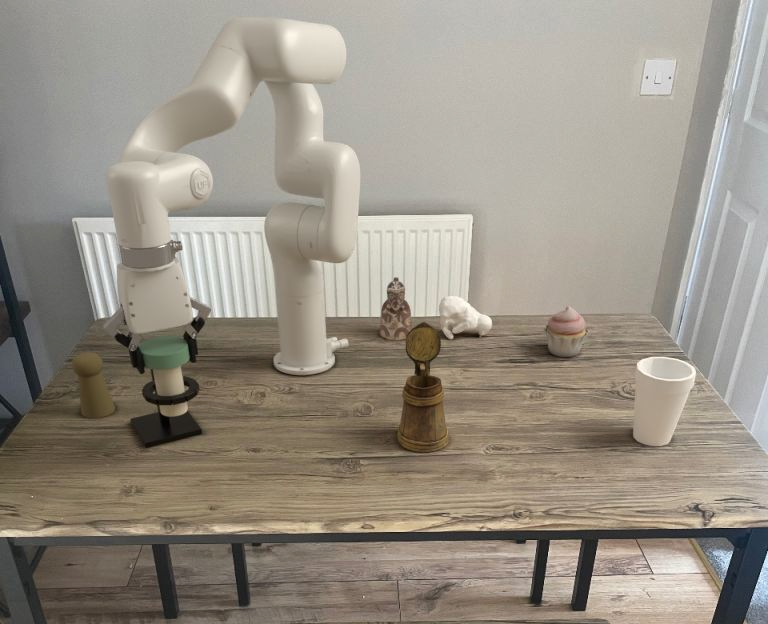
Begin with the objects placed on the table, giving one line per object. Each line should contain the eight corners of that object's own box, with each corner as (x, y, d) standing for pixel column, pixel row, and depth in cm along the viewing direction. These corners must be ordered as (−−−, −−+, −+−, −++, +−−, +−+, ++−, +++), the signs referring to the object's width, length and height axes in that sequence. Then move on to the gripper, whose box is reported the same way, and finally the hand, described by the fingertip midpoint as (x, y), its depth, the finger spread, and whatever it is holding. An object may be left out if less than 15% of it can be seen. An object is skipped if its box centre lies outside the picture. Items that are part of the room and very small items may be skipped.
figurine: (377, 339, 176) (376, 285, 169) (382, 326, 181) (382, 274, 174) (409, 341, 175) (410, 287, 168) (413, 328, 180) (414, 275, 173)
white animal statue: (440, 290, 175) (495, 296, 175) (435, 327, 180) (488, 333, 180) (440, 301, 170) (496, 307, 170) (435, 338, 175) (490, 344, 175)
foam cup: (649, 455, 135) (664, 385, 127) (612, 431, 141) (625, 363, 134) (691, 442, 138) (708, 373, 131) (653, 419, 145) (667, 352, 138)
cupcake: (552, 339, 175) (558, 294, 169) (592, 349, 170) (599, 303, 165) (533, 353, 169) (538, 308, 163) (574, 364, 164) (580, 318, 158)
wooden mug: (446, 414, 147) (450, 321, 137) (449, 452, 136) (454, 353, 125) (397, 414, 147) (397, 321, 137) (397, 452, 136) (397, 353, 126)
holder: (184, 410, 149) (174, 350, 142) (218, 455, 136) (209, 391, 129) (131, 423, 145) (118, 362, 138) (160, 470, 132) (147, 405, 125)
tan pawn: (105, 419, 146) (92, 363, 140) (75, 416, 147) (61, 361, 141) (120, 404, 151) (109, 349, 144) (91, 401, 152) (78, 347, 146)
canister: (189, 396, 136) (179, 332, 130) (203, 414, 131) (194, 349, 124) (145, 406, 133) (132, 341, 127) (158, 425, 128) (145, 359, 121)
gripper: (196, 239, 124) (210, 346, 134) (80, 256, 117) (105, 368, 127) (212, 252, 118) (226, 362, 128) (92, 271, 111) (117, 386, 121)
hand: (166, 364), depth 127 cm, fingers closed on canister, 7 cm apart
